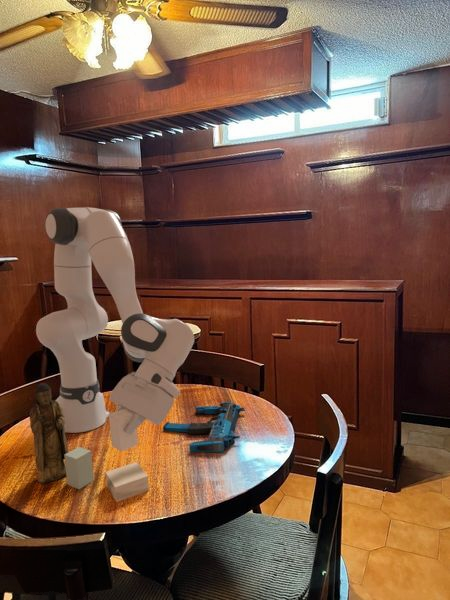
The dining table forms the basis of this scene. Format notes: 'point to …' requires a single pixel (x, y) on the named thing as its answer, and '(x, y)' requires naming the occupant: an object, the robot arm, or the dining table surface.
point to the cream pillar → (122, 430)
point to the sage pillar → (79, 467)
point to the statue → (48, 435)
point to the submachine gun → (211, 427)
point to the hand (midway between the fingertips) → (120, 428)
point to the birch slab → (127, 481)
